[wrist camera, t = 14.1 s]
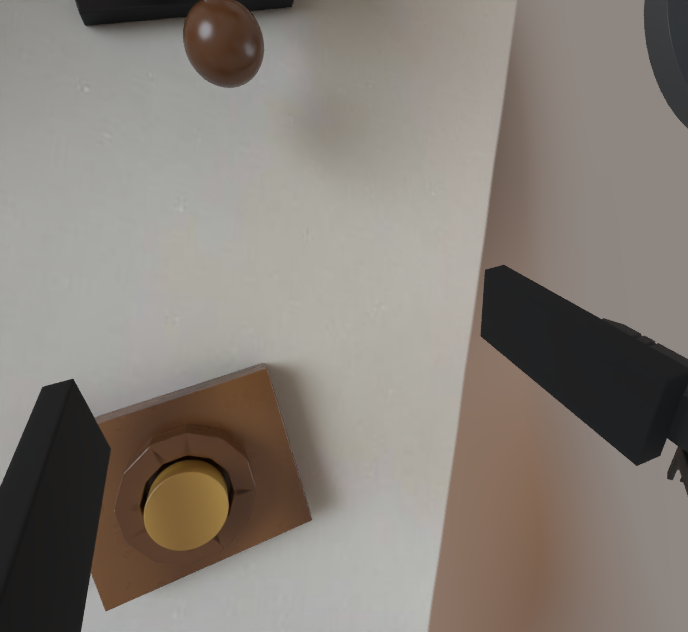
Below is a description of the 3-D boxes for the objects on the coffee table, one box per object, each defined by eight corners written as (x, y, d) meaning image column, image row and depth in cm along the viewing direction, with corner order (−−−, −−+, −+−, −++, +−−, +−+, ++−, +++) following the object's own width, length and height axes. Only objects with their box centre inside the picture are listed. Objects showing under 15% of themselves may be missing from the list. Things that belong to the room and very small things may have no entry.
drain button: (215, 447, 23) (215, 459, 22) (236, 514, 24) (238, 530, 22) (137, 476, 22) (131, 491, 21) (161, 545, 23) (158, 565, 21)
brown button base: (262, 362, 28) (271, 373, 24) (304, 504, 29) (319, 535, 25) (55, 430, 24) (27, 454, 20) (113, 586, 26) (97, 637, 22)
